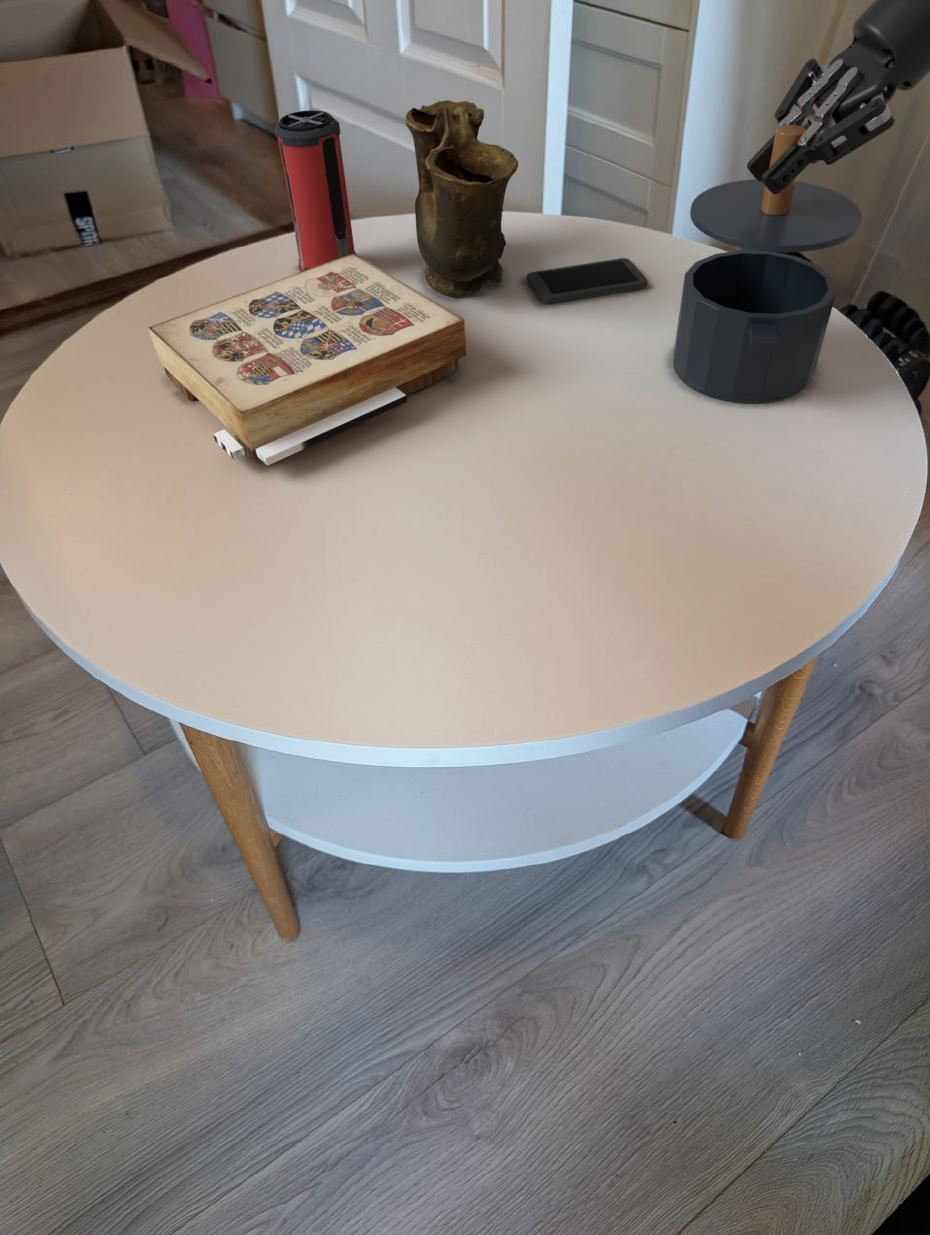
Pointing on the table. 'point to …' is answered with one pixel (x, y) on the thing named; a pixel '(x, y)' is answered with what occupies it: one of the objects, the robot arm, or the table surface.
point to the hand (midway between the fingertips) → (760, 180)
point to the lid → (776, 211)
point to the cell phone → (586, 280)
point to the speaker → (315, 186)
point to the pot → (752, 325)
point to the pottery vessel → (458, 196)
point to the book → (309, 355)
